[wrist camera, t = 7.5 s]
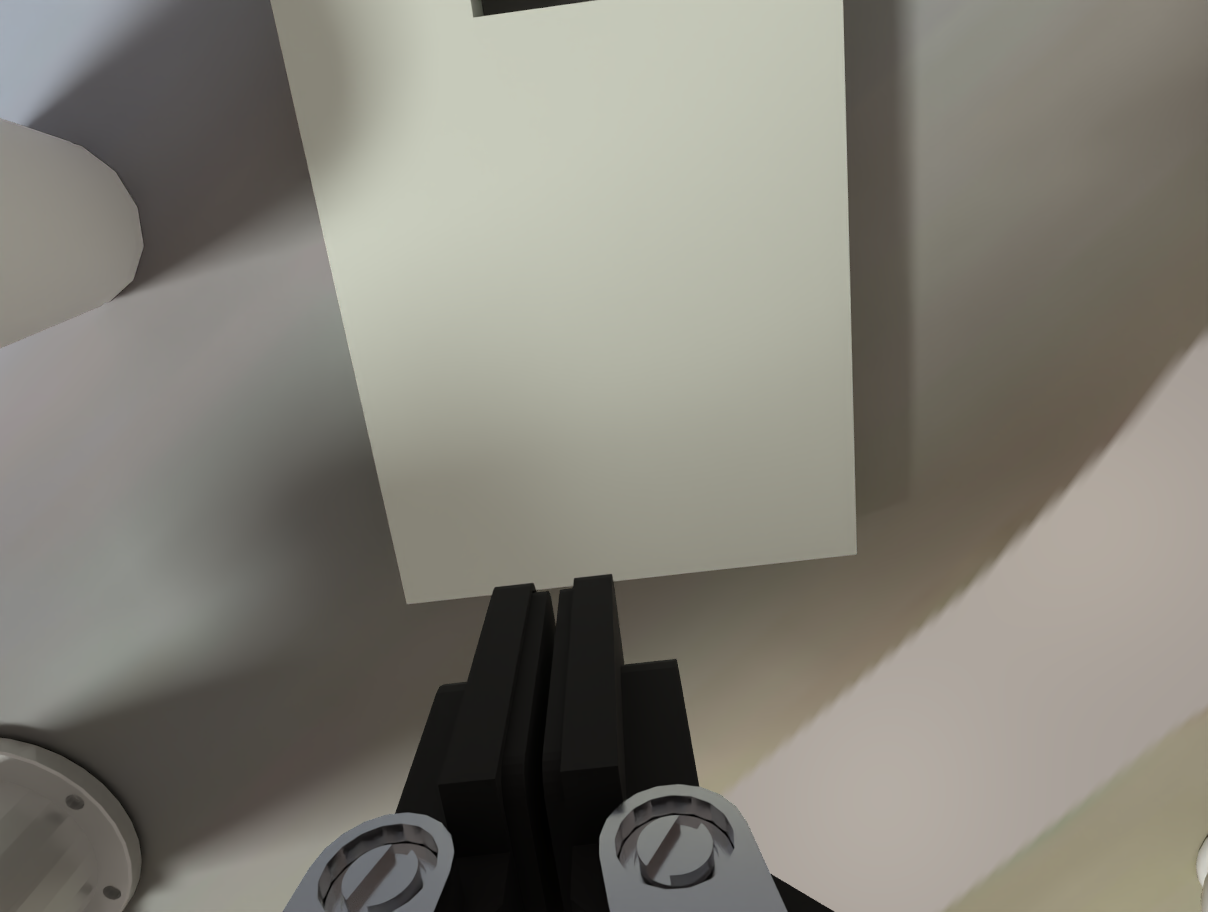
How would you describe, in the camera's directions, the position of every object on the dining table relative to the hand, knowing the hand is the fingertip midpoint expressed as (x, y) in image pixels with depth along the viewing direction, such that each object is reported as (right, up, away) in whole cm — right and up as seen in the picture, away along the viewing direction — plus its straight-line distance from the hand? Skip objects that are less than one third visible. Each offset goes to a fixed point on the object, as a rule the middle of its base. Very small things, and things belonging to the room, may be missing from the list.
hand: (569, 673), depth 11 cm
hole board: (0, +13, +18) cm, 22 cm away
